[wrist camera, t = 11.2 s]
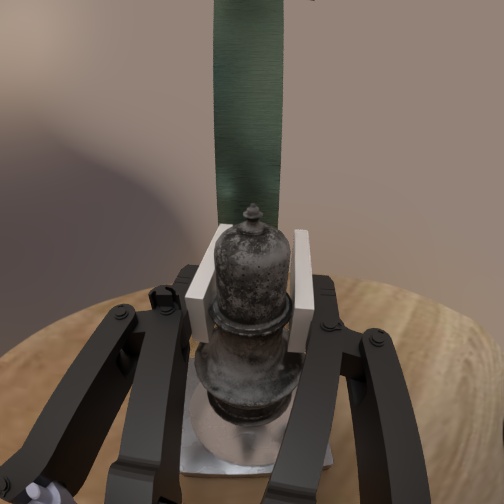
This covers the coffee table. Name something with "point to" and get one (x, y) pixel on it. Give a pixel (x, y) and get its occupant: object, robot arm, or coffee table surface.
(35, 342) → the coffee table surface
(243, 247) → the dark chess piece
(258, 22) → the arbor press
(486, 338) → the coffee table surface
